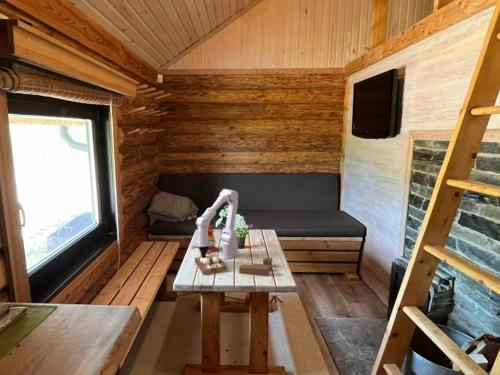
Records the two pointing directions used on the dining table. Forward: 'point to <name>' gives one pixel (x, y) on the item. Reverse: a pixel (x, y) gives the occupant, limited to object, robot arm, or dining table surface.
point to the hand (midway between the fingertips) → (203, 258)
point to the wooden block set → (257, 268)
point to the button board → (210, 266)
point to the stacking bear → (211, 240)
